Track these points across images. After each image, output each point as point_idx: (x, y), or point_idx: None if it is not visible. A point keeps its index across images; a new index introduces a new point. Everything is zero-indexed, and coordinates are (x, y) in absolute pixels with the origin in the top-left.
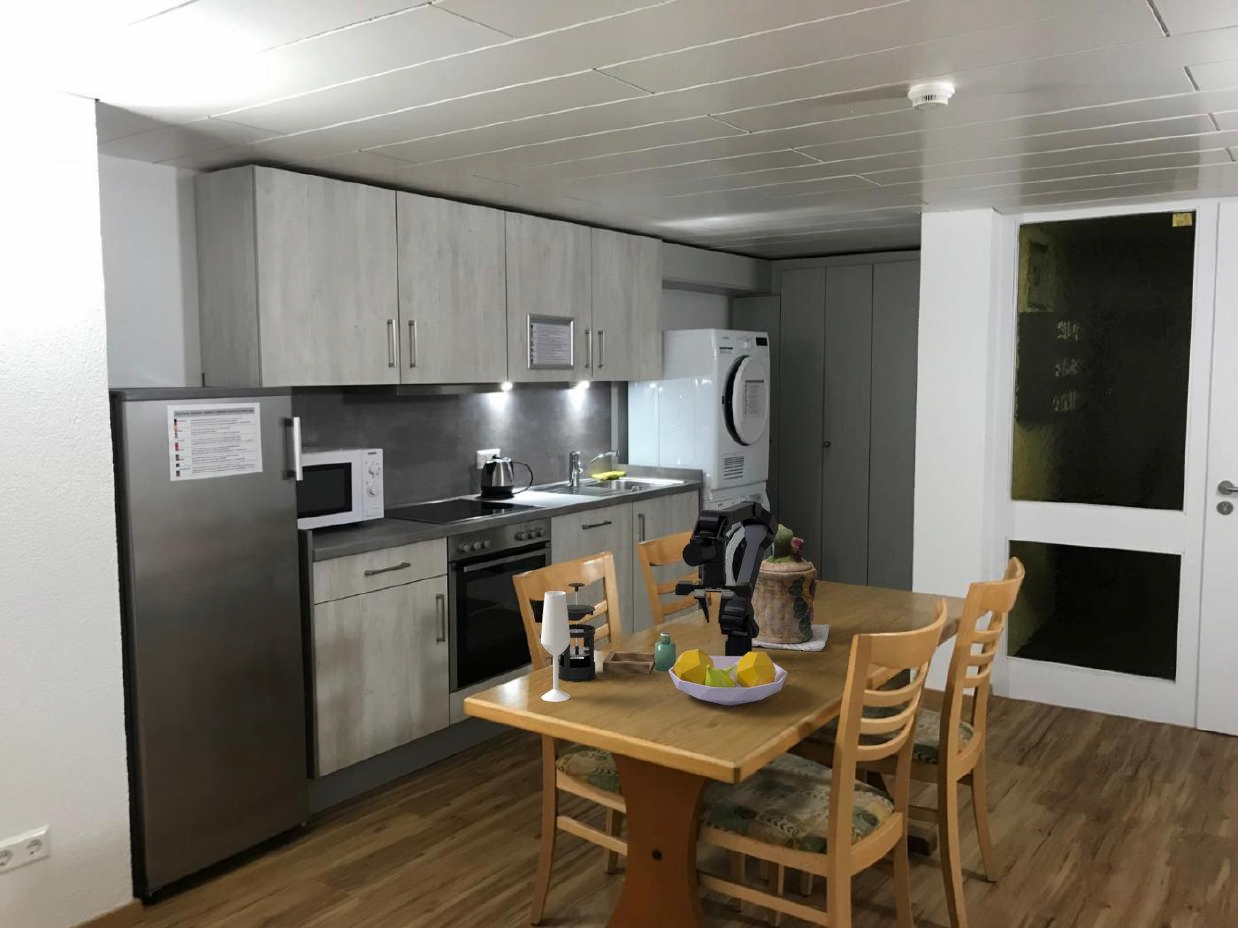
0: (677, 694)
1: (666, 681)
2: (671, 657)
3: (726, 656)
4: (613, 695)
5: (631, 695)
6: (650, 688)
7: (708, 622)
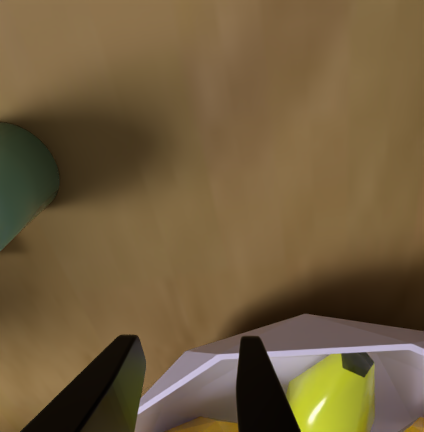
0: None
1: (92, 316)
2: (19, 232)
3: (317, 352)
4: (18, 422)
5: None
6: (77, 375)
7: (141, 375)
